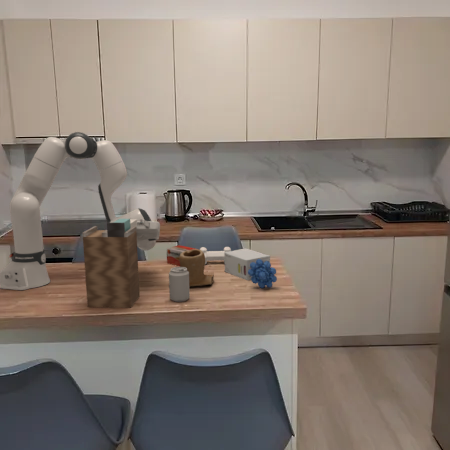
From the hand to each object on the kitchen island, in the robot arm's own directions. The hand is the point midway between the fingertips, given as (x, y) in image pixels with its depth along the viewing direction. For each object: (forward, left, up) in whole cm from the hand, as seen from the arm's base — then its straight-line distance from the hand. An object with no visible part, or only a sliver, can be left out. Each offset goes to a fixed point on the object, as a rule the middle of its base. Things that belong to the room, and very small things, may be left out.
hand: (129, 221), depth 181 cm
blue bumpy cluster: (+51, +6, -29) cm, 59 cm away
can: (+20, -8, -29) cm, 36 cm away
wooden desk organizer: (-4, -12, -28) cm, 31 cm away
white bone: (+28, +44, -29) cm, 59 cm away
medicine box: (+13, +41, -29) cm, 52 cm away
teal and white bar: (0, -6, -2) cm, 7 cm away
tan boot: (+24, +9, -29) cm, 39 cm away
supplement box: (+44, +27, -29) cm, 59 cm away
